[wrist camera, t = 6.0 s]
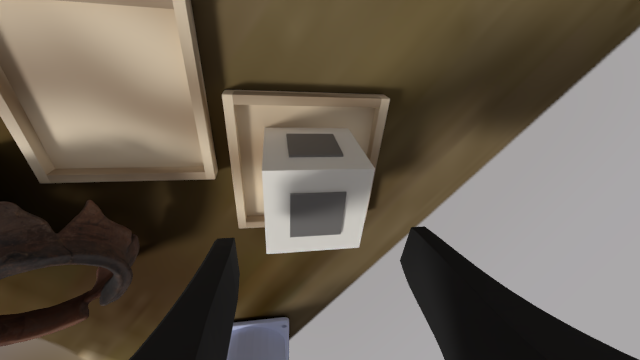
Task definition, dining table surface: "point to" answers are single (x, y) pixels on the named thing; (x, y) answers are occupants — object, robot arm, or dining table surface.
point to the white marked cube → (314, 189)
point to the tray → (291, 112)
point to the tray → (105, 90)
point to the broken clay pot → (63, 249)
